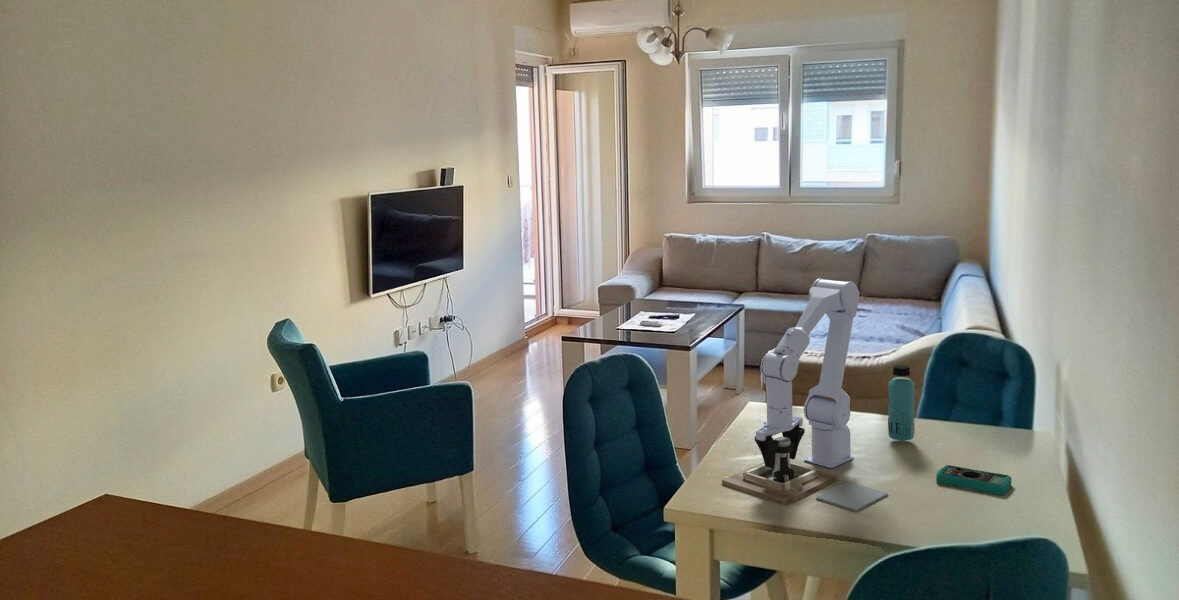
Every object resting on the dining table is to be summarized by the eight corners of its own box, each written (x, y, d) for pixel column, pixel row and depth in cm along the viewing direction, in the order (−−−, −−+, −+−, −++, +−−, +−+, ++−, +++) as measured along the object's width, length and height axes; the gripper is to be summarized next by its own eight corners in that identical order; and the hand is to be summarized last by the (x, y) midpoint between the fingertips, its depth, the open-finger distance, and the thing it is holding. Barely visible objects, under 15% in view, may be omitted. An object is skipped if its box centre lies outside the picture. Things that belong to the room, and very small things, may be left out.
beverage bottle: (917, 440, 233) (918, 363, 229) (911, 448, 227) (911, 370, 224) (891, 436, 236) (891, 361, 233) (884, 444, 231) (884, 367, 227)
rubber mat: (848, 483, 207) (848, 481, 207) (887, 495, 199) (887, 493, 199) (816, 499, 199) (816, 497, 199) (856, 511, 192) (856, 509, 192)
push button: (776, 488, 206) (775, 446, 205) (761, 481, 211) (760, 440, 209) (799, 482, 209) (799, 440, 208) (784, 475, 214) (783, 434, 212)
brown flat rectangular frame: (776, 460, 223) (776, 449, 223) (839, 479, 210) (839, 466, 209) (722, 483, 211) (721, 471, 210) (785, 505, 197) (785, 491, 197)
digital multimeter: (943, 474, 211) (943, 462, 210) (1012, 486, 201) (1013, 474, 201) (933, 484, 205) (933, 472, 204) (1003, 498, 196) (1004, 485, 195)
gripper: (785, 395, 215) (785, 450, 217) (744, 409, 205) (746, 466, 208) (810, 400, 209) (810, 457, 212) (769, 415, 200) (770, 474, 202)
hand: (780, 462), depth 209 cm, fingers open, 7 cm apart
